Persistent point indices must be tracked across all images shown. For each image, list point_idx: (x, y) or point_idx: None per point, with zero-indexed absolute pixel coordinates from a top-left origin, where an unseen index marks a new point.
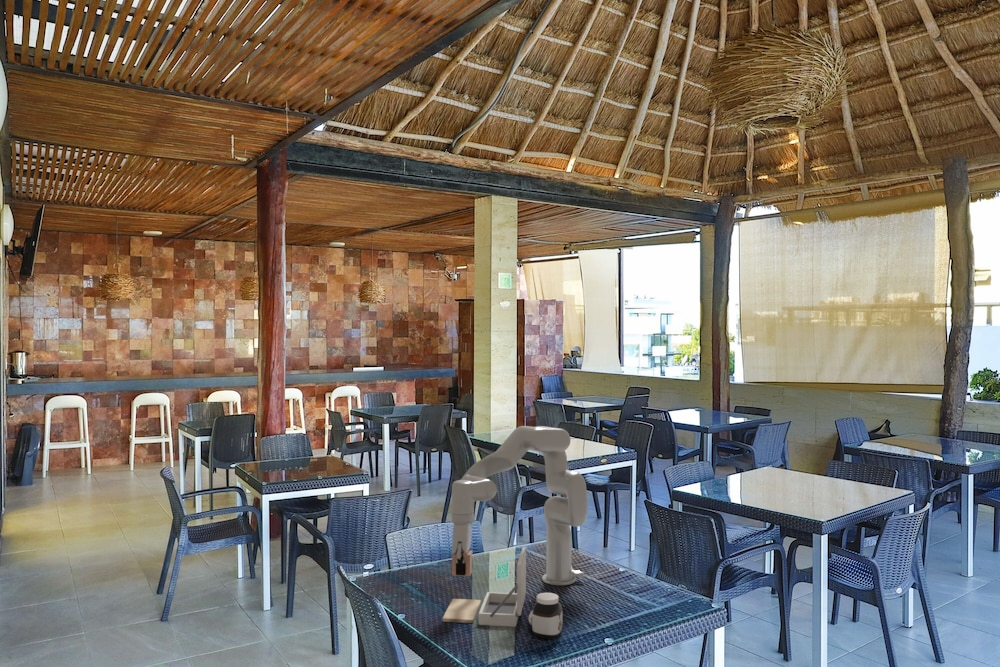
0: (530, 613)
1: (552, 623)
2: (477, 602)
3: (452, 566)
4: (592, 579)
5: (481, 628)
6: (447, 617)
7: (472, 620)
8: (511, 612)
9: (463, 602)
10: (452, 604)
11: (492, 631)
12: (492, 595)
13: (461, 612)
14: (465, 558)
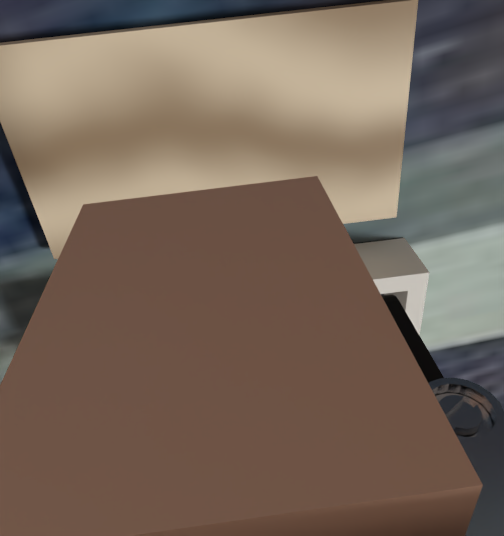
0: None
1: None
2: (349, 208)
3: (49, 295)
4: None
5: (10, 305)
6: (10, 84)
7: (53, 254)
8: None
9: (338, 116)
10: (285, 40)
11: (3, 356)
12: (401, 296)
13: (145, 158)
14: None
